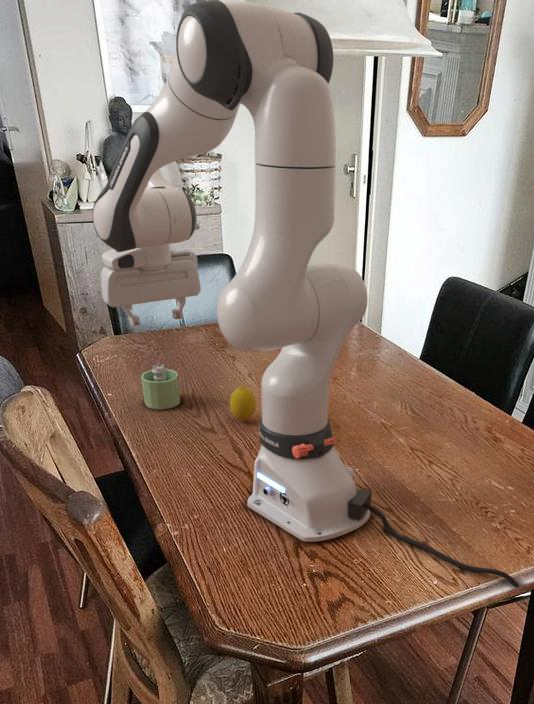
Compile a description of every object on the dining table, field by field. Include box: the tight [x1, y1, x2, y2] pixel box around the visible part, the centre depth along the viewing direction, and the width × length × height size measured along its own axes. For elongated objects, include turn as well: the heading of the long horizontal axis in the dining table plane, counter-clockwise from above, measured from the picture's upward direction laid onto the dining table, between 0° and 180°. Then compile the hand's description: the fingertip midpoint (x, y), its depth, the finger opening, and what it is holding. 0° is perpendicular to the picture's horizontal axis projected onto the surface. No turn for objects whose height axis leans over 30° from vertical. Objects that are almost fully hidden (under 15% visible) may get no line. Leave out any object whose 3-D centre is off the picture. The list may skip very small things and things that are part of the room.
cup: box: [140, 368, 181, 410], centre depth 142 cm, size 8×8×6 cm
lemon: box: [229, 386, 257, 422], centre depth 135 cm, size 6×6×8 cm
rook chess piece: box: [151, 363, 168, 382], centre depth 141 cm, size 4×4×8 cm
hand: (156, 321), depth 134 cm, fingers open, 8 cm apart
